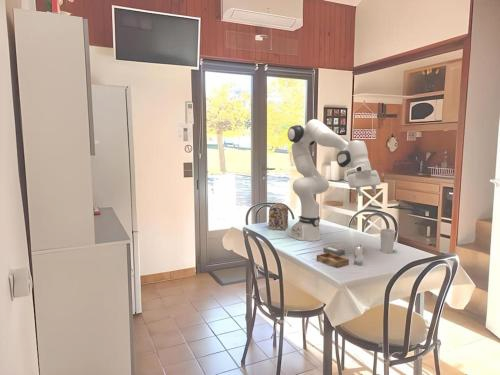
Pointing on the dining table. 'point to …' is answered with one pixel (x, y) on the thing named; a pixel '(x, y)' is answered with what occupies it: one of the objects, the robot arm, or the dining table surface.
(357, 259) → the steel cell
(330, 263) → the brown wooden shallow tray
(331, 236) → the dining table surface
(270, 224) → the decorative jar
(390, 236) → the cup
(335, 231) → the dining table surface
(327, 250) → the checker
